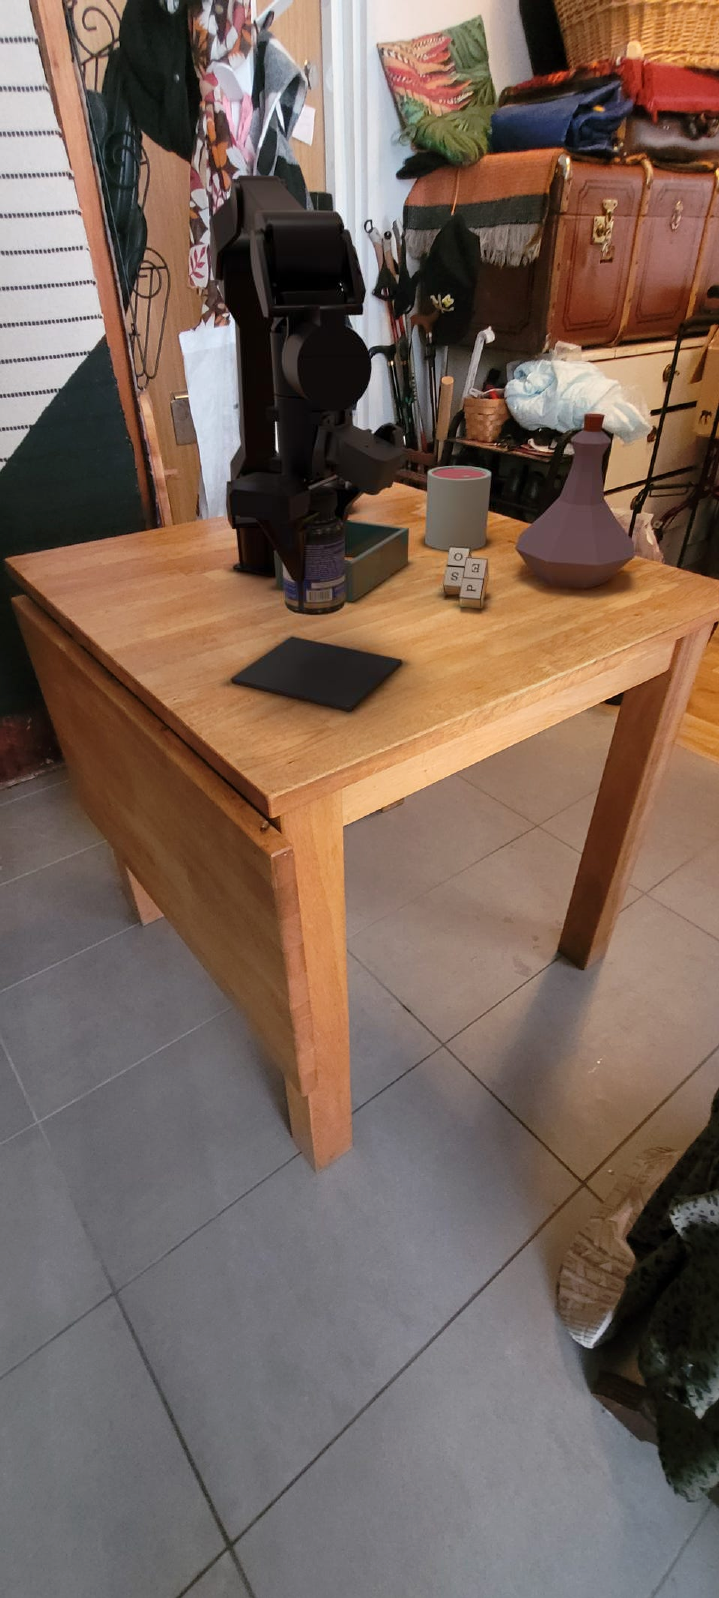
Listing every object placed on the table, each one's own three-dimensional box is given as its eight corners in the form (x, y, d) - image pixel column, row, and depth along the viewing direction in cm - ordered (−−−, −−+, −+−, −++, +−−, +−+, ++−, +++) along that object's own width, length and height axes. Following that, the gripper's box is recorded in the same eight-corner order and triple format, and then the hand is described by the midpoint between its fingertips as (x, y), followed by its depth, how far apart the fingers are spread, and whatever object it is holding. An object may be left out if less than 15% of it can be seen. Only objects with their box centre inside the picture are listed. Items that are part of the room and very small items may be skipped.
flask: (487, 581, 103) (501, 418, 92) (542, 550, 114) (561, 400, 102) (603, 608, 95) (634, 432, 84) (651, 572, 106) (685, 411, 94)
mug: (488, 550, 114) (495, 479, 108) (426, 550, 114) (429, 480, 109) (478, 524, 125) (483, 459, 120) (421, 524, 125) (424, 459, 120)
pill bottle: (353, 600, 79) (354, 487, 73) (332, 621, 74) (331, 502, 68) (298, 592, 81) (294, 482, 74) (274, 612, 76) (268, 496, 70)
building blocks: (482, 617, 98) (492, 559, 99) (481, 599, 93) (491, 538, 94) (441, 613, 99) (451, 556, 100) (437, 595, 94) (448, 535, 95)
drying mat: (231, 682, 79) (230, 678, 79) (291, 640, 88) (291, 636, 88) (350, 711, 74) (350, 707, 74) (402, 663, 83) (402, 659, 82)
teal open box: (276, 588, 102) (273, 550, 99) (337, 552, 114) (336, 517, 111) (353, 602, 98) (352, 563, 95) (408, 563, 110) (409, 527, 107)
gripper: (336, 416, 57) (341, 618, 66) (435, 384, 70) (428, 555, 79) (213, 406, 61) (234, 597, 70) (329, 378, 74) (333, 540, 83)
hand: (315, 571), depth 75 cm, fingers closed on pill bottle, 6 cm apart
